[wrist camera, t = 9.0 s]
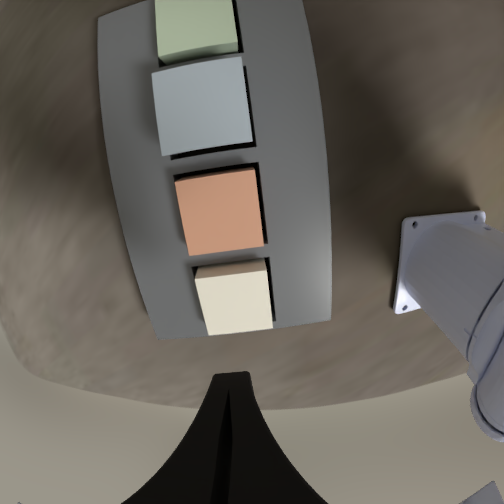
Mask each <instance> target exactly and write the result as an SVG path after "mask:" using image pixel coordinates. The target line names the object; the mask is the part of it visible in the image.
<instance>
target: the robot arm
mask: <svg viewBox="0 0 504 504" xmlns="http://www.w3.org/2000/svg"><path fill="white" fill-rule="evenodd" d="M474 216H475V217H474ZM414 222H415V225H414V226H413V227H412V225H413V223H414ZM403 306H405V307H403ZM419 308H422V309H423V310H424V311H425V312H426V313H427V314H428V316H429V317H430V318H431V319H432V320H433V321H434V322H435V323H436V324H437V326H438V327H439V328H440V329H441V330H442V331H443V332H444V334H445V335H446V336H447V337H448V338H449V339H450V341H451V342H452V343H453V344H454V345H455V346H456V348H457V349H458V350H459V351H460V352H461V354H462V355H463V356H464V357H465V359H466V360H467V361H468V362H469V369H468V371H467V375H468V376H469V378H470V379H471V380H472V382H473V383H474V386H473V389H472V392H471V398H470V403H471V404H470V405H471V411H472V414H473V417H474V419H475V421H476V423H477V425H478V426H479V427H480V429H481V430H482V431H483V432H484V433H485V434H487V435H488V436H489V437H491V438H492V439H494V440H497V441H499V442H504V233H503V232H501V231H499V230H497V229H495V228H493V227H491V226H489V225H487V224H485V212H484V211H481V210H479V211H468V212H457V213H447V214H436V215H426V216H416V217H407V218H405V219H404V220H403V222H402V230H401V245H400V257H399V267H398V276H397V284H396V292H395V299H394V305H393V311H394V312H395V313H396V314H400V313H404V312H408V311H412V310H416V309H419ZM18 504H21V503H20V502H18ZM121 504H328V503H327V502H326V501H325V500H323V498H321V497H320V496H319V495H318V494H317V493H316V492H315V490H314V489H312V487H311V486H310V485H309V484H308V483H307V482H306V481H305V480H304V478H303V477H302V476H301V475H300V474H299V472H298V471H297V470H296V469H295V467H294V466H293V465H292V464H291V462H290V461H289V460H288V458H287V457H286V455H285V454H284V453H283V451H282V449H281V448H280V446H279V445H278V443H277V442H276V440H275V439H274V437H273V435H272V433H271V432H270V430H269V428H268V426H267V424H266V422H265V420H264V418H263V416H262V413H261V411H260V409H259V407H258V404H257V402H256V399H255V396H254V391H253V386H252V381H251V376H250V373H249V372H247V371H243V372H232V373H220V374H215V375H214V376H213V378H212V381H211V384H210V386H209V389H208V391H207V394H206V396H205V398H204V400H203V403H202V405H201V407H200V409H199V411H198V413H197V415H196V417H195V419H194V421H193V423H192V424H191V426H190V427H189V429H188V431H187V433H186V434H185V436H184V437H183V439H182V441H181V442H180V444H179V445H178V447H177V448H176V450H175V451H174V452H173V453H172V455H171V456H170V457H169V458H168V460H167V461H166V462H165V463H164V465H163V466H162V467H161V468H160V469H159V470H158V471H157V473H156V474H155V475H154V476H153V477H152V478H151V479H150V480H149V481H148V482H146V483H145V485H143V486H142V487H141V488H140V489H139V490H138V491H137V492H136V493H134V494H133V495H132V496H131V497H130V498H128V499H127V500H125V501H124V502H123V503H121ZM460 504H504V501H503V499H502V497H501V495H500V492H499V490H498V488H497V486H496V484H495V482H494V481H491V482H490V483H489V484H487V485H486V486H485V487H483V488H482V489H480V490H479V491H478V492H476V493H475V494H473V495H472V496H470V497H469V498H467V499H465V500H464V501H462V502H461V503H460Z"/></svg>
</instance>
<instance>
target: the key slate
mask: <svg viewBox="0 0 504 504" xmlns="http://www.w3.org/2000/svg"><path fill="white" fill-rule="evenodd" d="M152 84H153V93H154V102H155V110H156V118H157V126H158V133H159V140H160V147H161V153H162V156H166V155H172V154H177V153H182V152H188V151H193V150H199V149H205V148H211V147H217V146H224V145H231V144H238V143H246V142H252V141H253V140H252V132H251V125H250V117H249V110H248V102H247V95H246V87H245V80H244V73H243V66H242V58H241V57H233V58H225V59H218V60H212V61H206V62H200V63H195V64H190V65H185V66H180V67H176V68H171V69H167V70H163V71H159V72H155V73H152Z"/></svg>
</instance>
